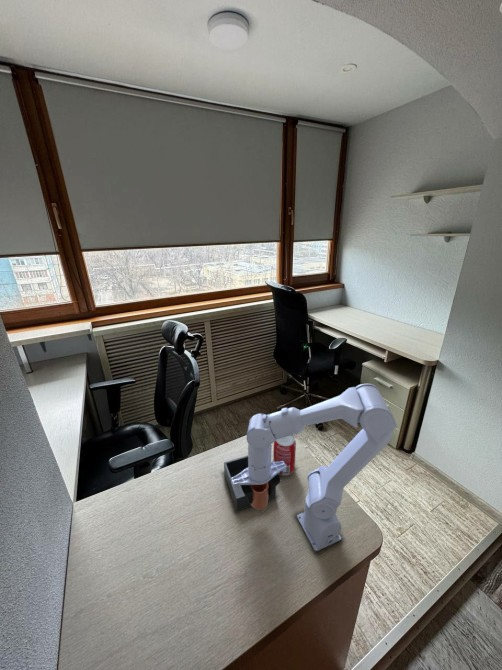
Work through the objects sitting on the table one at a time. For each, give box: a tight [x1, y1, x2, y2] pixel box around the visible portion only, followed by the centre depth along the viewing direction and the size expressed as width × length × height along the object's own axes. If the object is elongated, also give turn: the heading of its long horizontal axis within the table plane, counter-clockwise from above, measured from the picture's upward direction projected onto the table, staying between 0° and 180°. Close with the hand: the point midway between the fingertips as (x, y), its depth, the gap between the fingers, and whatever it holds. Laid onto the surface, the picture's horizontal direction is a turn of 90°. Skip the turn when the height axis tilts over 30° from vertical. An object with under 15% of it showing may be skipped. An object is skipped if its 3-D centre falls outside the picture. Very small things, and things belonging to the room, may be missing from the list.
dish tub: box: [223, 454, 277, 512], centre depth 83 cm, size 13×12×5 cm
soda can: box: [272, 435, 297, 476], centre depth 87 cm, size 7×7×13 cm
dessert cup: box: [250, 482, 269, 510], centre depth 71 cm, size 5×5×6 cm
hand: (259, 496), depth 72 cm, fingers closed on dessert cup, 5 cm apart
